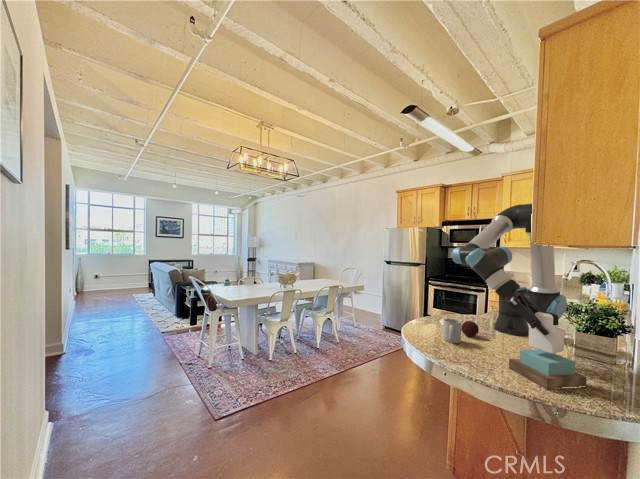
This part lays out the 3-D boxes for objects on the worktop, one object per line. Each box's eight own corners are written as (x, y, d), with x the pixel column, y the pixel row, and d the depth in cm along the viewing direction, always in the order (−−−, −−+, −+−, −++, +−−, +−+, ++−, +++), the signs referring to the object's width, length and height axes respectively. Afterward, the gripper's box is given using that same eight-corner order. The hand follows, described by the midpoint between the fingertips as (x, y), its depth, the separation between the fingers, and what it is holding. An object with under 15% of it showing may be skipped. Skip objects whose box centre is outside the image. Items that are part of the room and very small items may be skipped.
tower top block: (544, 360, 96) (544, 349, 96) (575, 374, 87) (575, 361, 87) (519, 361, 95) (520, 350, 95) (548, 375, 85) (548, 363, 85)
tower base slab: (543, 369, 99) (543, 358, 99) (586, 389, 85) (586, 377, 85) (508, 370, 97) (509, 359, 97) (546, 391, 83) (547, 378, 83)
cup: (460, 339, 125) (461, 320, 125) (460, 346, 116) (461, 325, 116) (443, 336, 128) (444, 317, 129) (441, 343, 120) (442, 322, 120)
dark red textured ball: (477, 334, 133) (477, 320, 133) (479, 339, 126) (479, 324, 126) (460, 332, 136) (460, 318, 136) (461, 337, 129) (461, 322, 129)
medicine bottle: (539, 343, 96) (540, 309, 96) (564, 351, 90) (565, 314, 90) (527, 346, 93) (528, 311, 93) (552, 354, 87) (553, 316, 87)
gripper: (501, 288, 110) (552, 338, 98) (485, 293, 95) (543, 354, 84) (518, 276, 106) (572, 327, 95) (504, 280, 91) (566, 341, 80)
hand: (558, 340), depth 89 cm, fingers closed on medicine bottle, 9 cm apart
